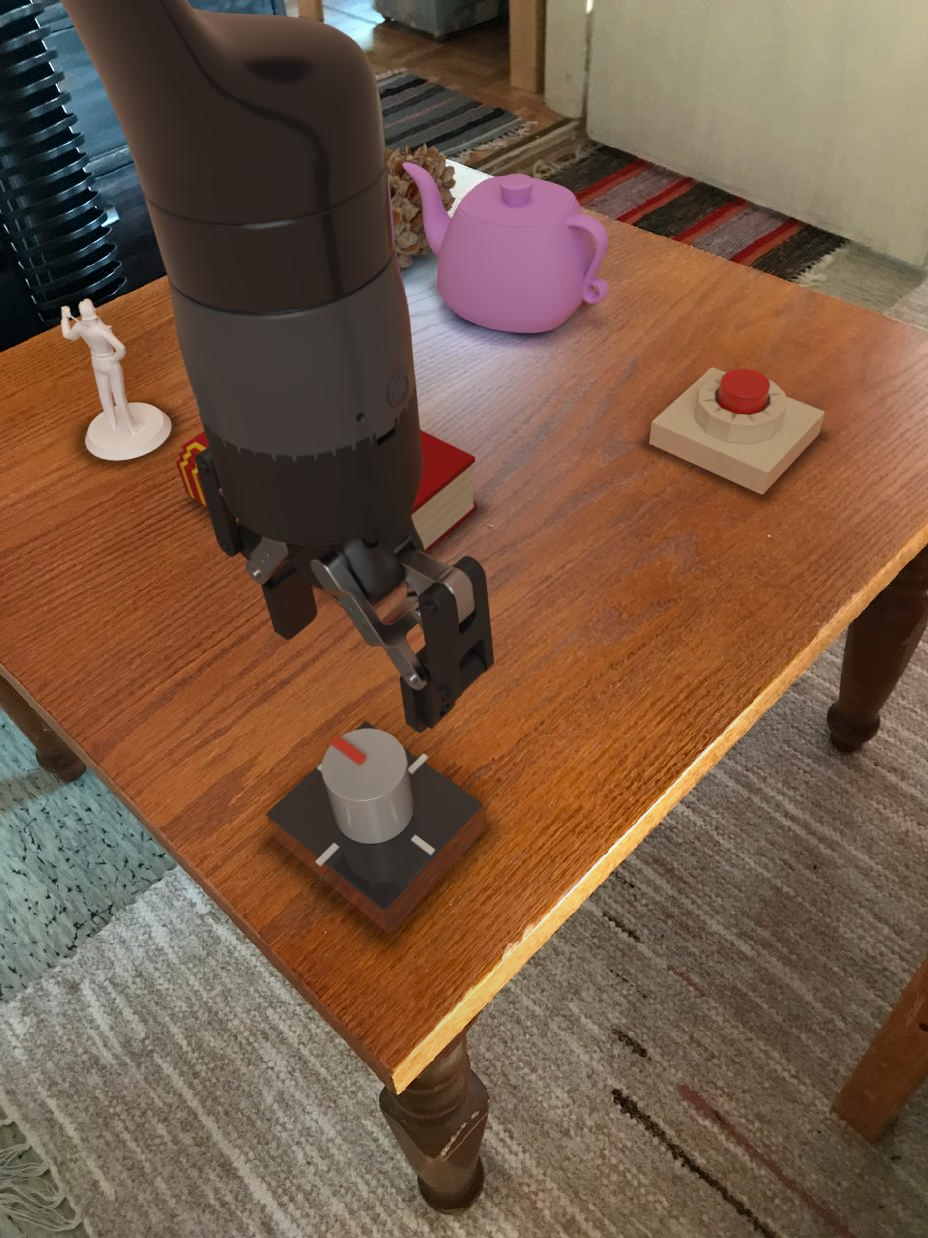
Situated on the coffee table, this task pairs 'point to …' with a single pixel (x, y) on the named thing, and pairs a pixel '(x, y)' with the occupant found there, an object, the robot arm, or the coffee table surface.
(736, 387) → the button
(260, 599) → the coffee table surface
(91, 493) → the coffee table surface
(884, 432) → the coffee table surface
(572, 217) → the teapot
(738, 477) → the block
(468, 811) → the panel
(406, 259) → the pine cone
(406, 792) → the burner knob
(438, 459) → the book
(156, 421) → the figurine
